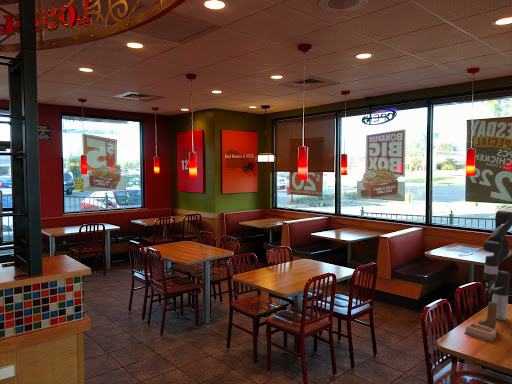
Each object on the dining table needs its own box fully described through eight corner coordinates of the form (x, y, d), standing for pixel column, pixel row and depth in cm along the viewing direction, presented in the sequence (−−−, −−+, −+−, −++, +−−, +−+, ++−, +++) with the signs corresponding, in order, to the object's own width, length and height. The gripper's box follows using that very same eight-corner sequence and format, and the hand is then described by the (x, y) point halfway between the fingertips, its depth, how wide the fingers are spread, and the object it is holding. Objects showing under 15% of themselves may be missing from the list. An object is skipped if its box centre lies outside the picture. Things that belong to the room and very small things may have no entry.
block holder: (470, 328, 249) (471, 321, 249) (496, 336, 238) (497, 329, 238) (464, 333, 241) (464, 326, 240) (491, 342, 230) (492, 334, 230)
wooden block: (478, 328, 250) (480, 301, 248) (479, 325, 253) (481, 299, 252) (494, 332, 244) (496, 304, 243) (495, 329, 248) (497, 302, 246)
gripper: (487, 269, 254) (485, 293, 255) (481, 272, 244) (479, 297, 245) (500, 271, 248) (498, 296, 249) (494, 275, 238) (492, 300, 239)
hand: (489, 296), depth 247 cm, fingers open, 8 cm apart
